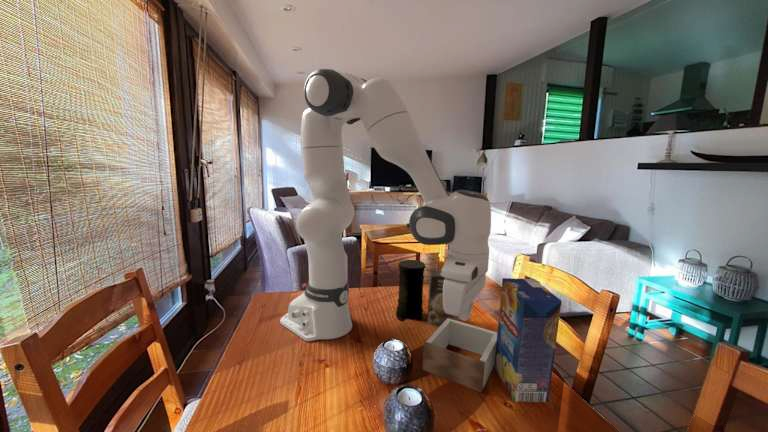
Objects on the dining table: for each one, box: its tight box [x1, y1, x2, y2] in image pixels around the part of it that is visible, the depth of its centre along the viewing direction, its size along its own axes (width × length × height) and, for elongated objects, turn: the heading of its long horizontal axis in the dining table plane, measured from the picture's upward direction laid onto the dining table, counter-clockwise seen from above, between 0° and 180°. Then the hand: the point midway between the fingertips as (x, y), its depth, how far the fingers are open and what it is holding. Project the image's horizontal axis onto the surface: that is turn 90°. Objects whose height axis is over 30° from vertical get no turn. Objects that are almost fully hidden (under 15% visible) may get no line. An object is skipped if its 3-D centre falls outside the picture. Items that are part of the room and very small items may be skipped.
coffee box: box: [426, 268, 459, 327], centre depth 104 cm, size 9×6×16 cm
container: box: [395, 259, 426, 322], centre depth 107 cm, size 9×9×18 cm
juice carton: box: [493, 277, 563, 403], centre depth 74 cm, size 12×8×24 cm, turn 1°
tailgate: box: [422, 341, 485, 393], centre depth 76 cm, size 14×1×7 cm, turn 58°
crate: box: [425, 318, 497, 389], centre depth 82 cm, size 14×14×8 cm
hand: (465, 317), depth 79 cm, fingers closed
